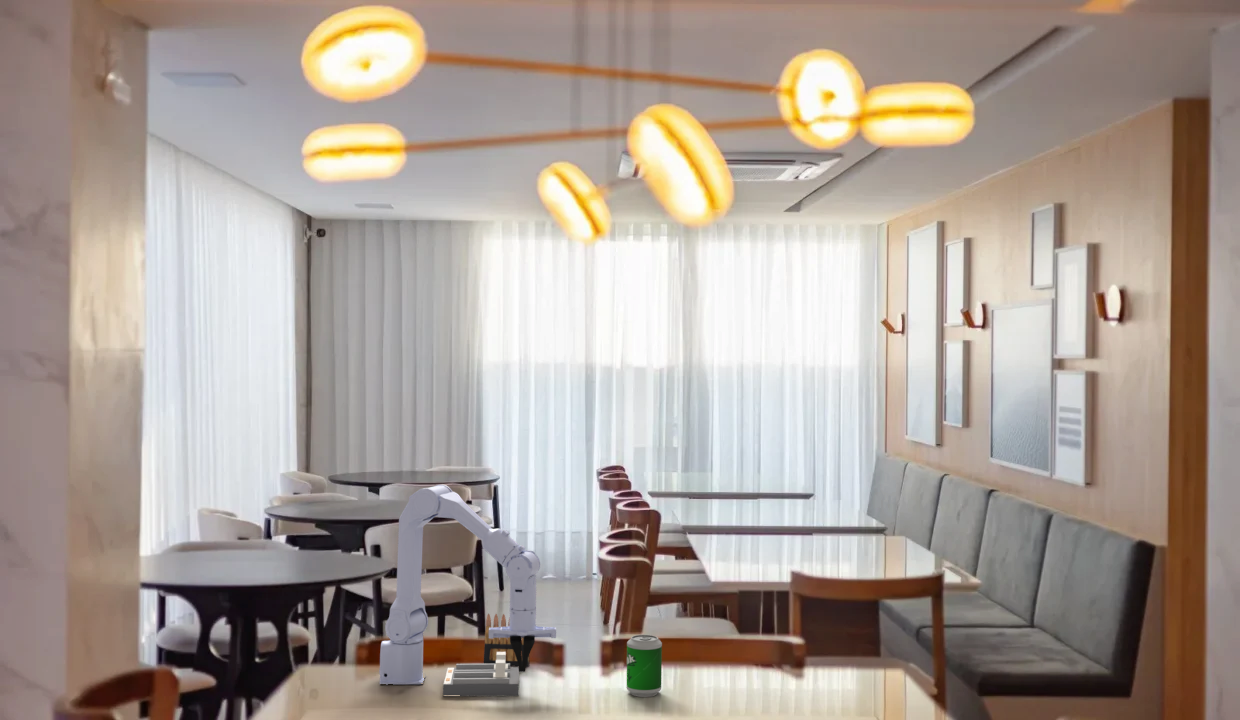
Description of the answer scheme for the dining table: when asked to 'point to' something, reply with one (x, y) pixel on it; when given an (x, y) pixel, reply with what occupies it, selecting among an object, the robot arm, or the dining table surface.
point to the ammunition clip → (499, 645)
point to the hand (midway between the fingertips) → (522, 670)
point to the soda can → (644, 665)
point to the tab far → (501, 658)
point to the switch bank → (480, 681)
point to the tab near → (500, 669)
